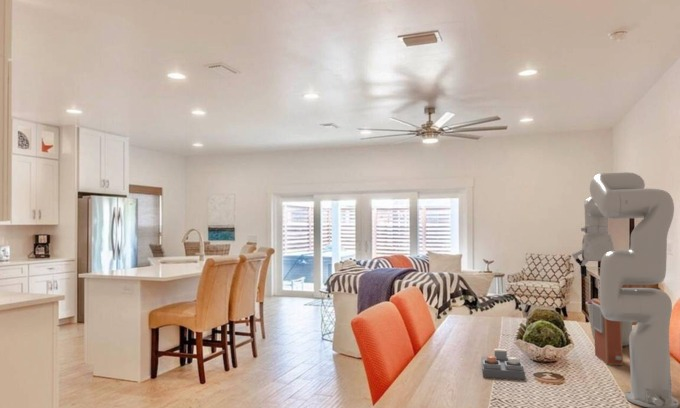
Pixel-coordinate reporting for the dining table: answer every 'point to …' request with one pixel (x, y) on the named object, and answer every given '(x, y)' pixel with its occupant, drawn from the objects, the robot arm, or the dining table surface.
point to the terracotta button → (491, 359)
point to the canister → (625, 326)
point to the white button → (513, 360)
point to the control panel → (607, 337)
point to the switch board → (502, 369)
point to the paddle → (501, 354)
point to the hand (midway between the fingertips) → (598, 276)
